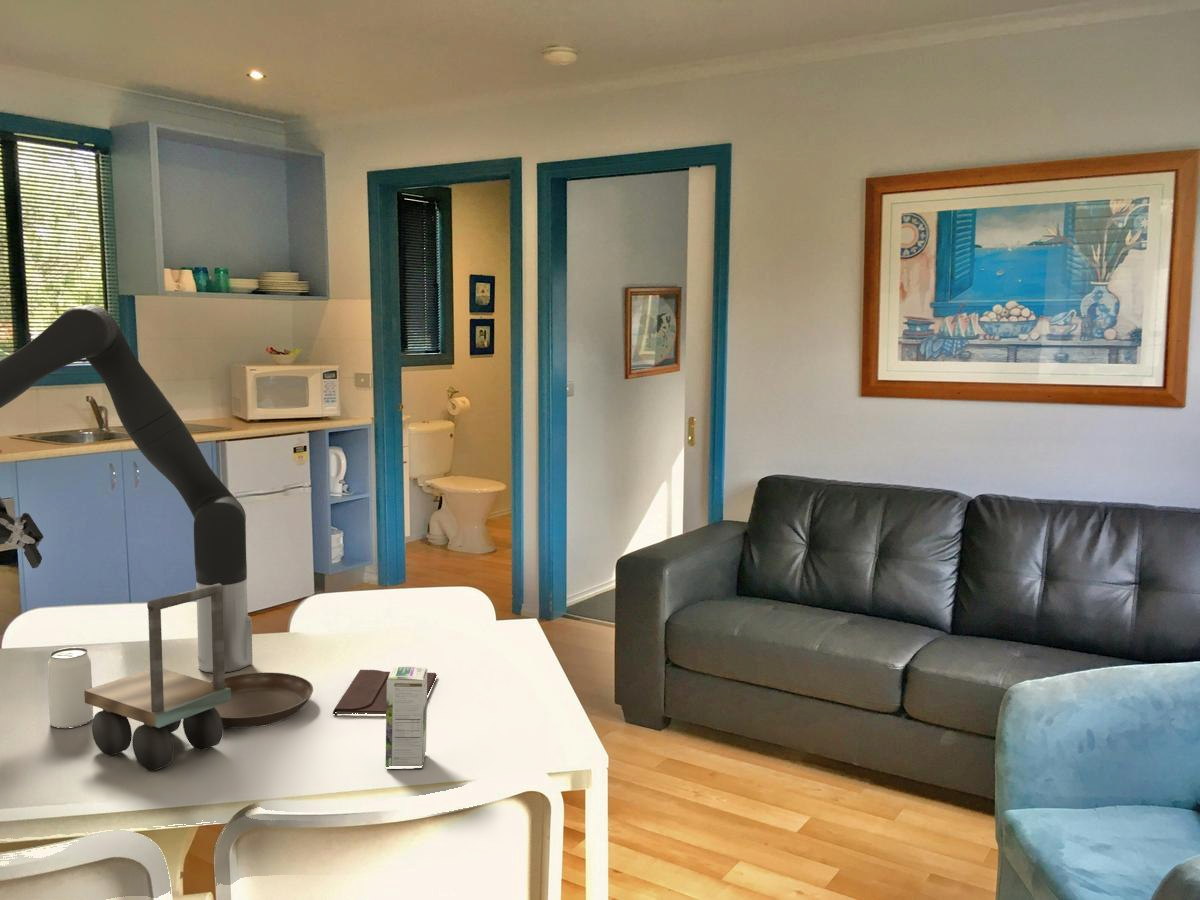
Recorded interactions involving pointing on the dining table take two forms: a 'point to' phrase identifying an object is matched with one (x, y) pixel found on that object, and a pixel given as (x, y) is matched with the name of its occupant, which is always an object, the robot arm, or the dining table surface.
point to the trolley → (163, 695)
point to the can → (69, 687)
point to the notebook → (369, 693)
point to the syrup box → (406, 716)
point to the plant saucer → (263, 699)
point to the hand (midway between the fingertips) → (13, 570)
